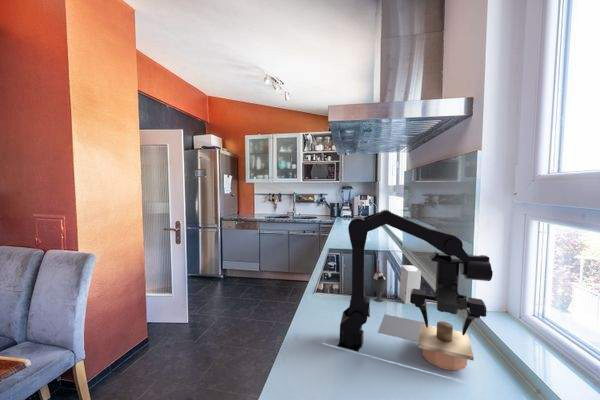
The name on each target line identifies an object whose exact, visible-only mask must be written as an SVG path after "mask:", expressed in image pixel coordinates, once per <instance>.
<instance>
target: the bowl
mask: <svg viewBox="0 0 600 400" xmlns="http://www.w3.org/2000/svg"><path fill="white" fill-rule="evenodd" d="M422 356H423V358H424V359H426V361H427V362H429V363H430V364H432V365H434V366H436V367H438V368H441V369H444V370H448V371H461V370H463V369H464V368H465V367H466V366H468V359H464V358H460V357H456V356H452V355H448V354H443V353H439V352H435V351H431V350H427V349H423V348H422Z"/></svg>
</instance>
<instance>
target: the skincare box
mask: <svg viewBox="0 0 600 400" xmlns="http://www.w3.org/2000/svg"><path fill="white" fill-rule="evenodd" d="M400 267H401V268H400V279H399V280H400V282H399V294H398V297H399V299H401V301H402V302H403V303H404V305H409V306H410V305H411V306H415V304H412V303H410V296H411V290H412V289H420V290H421V278H422V271H421V270H419V268H418V267H416V266H415V265H409V264H408V265H407V264H402V265H401V266H400Z"/></svg>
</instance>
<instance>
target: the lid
mask: <svg viewBox="0 0 600 400" xmlns="http://www.w3.org/2000/svg"><path fill="white" fill-rule="evenodd" d="M418 348H419V349H422V350H423V349H427V350H431V351H435V352H439V353H443V354H448V355H452V356H456V357H460V358H464V359H467V361H474V357H475V356H474V352H473V349H472V344H471V339H470V337H469V333H468V332H466V333H465V335H462V331H461V330H454V326H453V324H451V323H449V322H447V321H437V323H436V325H435V326H434V325H430V324H428V328H427V327H426V325H425V324H420V335H419V342H418Z"/></svg>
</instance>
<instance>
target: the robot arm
mask: <svg viewBox="0 0 600 400" xmlns="http://www.w3.org/2000/svg"><path fill="white" fill-rule="evenodd" d="M386 225H387V226H390V227H392V228H394V229H397V230H399V231H402V232H403V233H406V234H409V235H411V236H413V237H415V238H418V239H420V240H423V241H425V242H426V243H427V244H429V245H431V246H432V247H434V248H435V249H437V250H438V251H440V252H441V253H444V254H439V252H438V251H434V252H433V253H432V254H431V255H429V256H428V258H429V260H430V261H431V262H436V265H435V266H436V267H435V268H436V270H435V288H434V289H435V291H434V295H433V294H426V289H421V288H420V289H412V290H411V296H410V303H412V304H415V305H414V307H416V308H419V310H420V312H421V314H422V319H423V322H425V325H426V327H427V328H428V325H429V315H428V306H427V305H428V302H429V303H432V304H433V303H435V304H436V310H437V311H438V312H440V313H449V314H452V315H457V314H458V312H459V311H464V315H463V321H462V329H461V332H462V335H465V333H467V331H468V329H469V326H470V325H471V323H472V322H473V320H475V319H480V318H481V317H483V318H484V317H487V311H488V310H487V306H486V304H485V301H483V299H482V298H476V297H475V298H474V297H467V295H464V294H459V282H460V281H459V280H460V279H459V278H460V275H461V276H463V277H464V279H466V280H472V281H480V282H481V281H482V282H490V281H491V280H492V278H493V273H494V271H493V269H492V265H491V262H490V257H489V256H488V255H484V254H483V255H481V254H480V255H474V254H473V255H471V254H468V253H467V252H466V251H465V249H464V248H463V247H464V246H463V241H462V239H461V238H460V237H458V236H457V235H456V234H453V233H452V232H449V231H445V230H442V229H437V228H431V227H428V226H425V225H424V224H423V225H422V224H420V223H418V222H415V221H413V220H410V219H409V218H405V217H403V216H401V215H398V214H397V213H394V212H391V210H389V209H382V210H381V211H379V212H376V213H372V214H369V215H366V216H364V217H362V216H355V217H353V218H352V219H351V220H350V222H349V223H348V227H347V228H348V229H347V231H348V235H349V241H350V245H351V297H350V300H349V305H348V307H347V308H345V310H343V311H342V315H341V319H340V324H339V341H338V343H337V347H340V348H344V349H348V350H351V351H355V352H359V351H360V349H361V348H362V347H363V345H364V335H365V334H364V333H365V331H364V329H363V325H364V324H366V323H367V320H368V318H370V317H371V315H370V314H371V307H370V306H371V305H370V303H371V301H370V298H371V296H370V295H366V293H365V247H366V242H367V237H368V233H369V232H371V231H374V230H376V229H378V228H381V227H382V226H386ZM452 257H456V258H452ZM458 310H459V311H458Z"/></svg>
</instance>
